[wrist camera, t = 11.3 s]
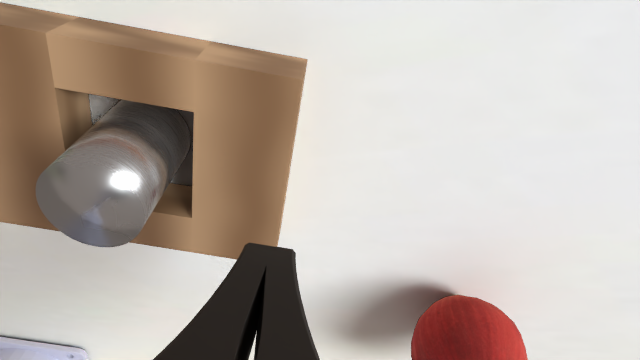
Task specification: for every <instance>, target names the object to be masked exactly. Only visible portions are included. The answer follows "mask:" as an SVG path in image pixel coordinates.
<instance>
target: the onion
mask: <svg viewBox="0 0 640 360" xmlns="http://www.w3.org/2000/svg"><path fill="white" fill-rule="evenodd" d="M411 357H412V360H528V359H527V354H526V349H525V346H524V343H523V340H522V337H521V334H520V332H519V330H518V329H517V327H516V325H515V324H514V322H513V321H512V320H511V319H510V318H509V317H508V316H507V315H505V314H504V313H503V312H502V311H501V310H500V309H498V308H497V307H495V306H494V305H492V304H490V303H488V302H485V301H483V300H481V299H478V298H474V297H467V296H462V295H454V296H447V297H444V298H442V299H440V300H438V301H436V302H434V303H433V304H432V305H431V306H430V307H429V308H428V309H427V310H426V311H425V312H424V314H423V315H422V316H421V317H420V318H419V320H418V322H417V325H416V327H415V329H414V333H413V337H412V341H411Z"/></svg>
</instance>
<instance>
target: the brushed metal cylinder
mask: <svg viewBox="0 0 640 360" xmlns="http://www.w3.org/2000/svg"><path fill="white" fill-rule="evenodd" d="M190 144H191V137H190V132H189V128H188V126H187V124H186V122H185V120H184V119H183V117H182V116H181V115H180V114H179V113H178V112H177V111H176V110H175V109H173V108H168V107H162V106H156V105H151V104H145V103H139V102H134V101H128V100H121V101H119V102H118V103H117V104H116V105H115V106H114V107H112V108H111V109H110V110H109V111H108V112H107V113H106V114H105V115H104V116H103V117H102V118H101V119H99V120H98V121H97V122H96V123H95V124H94V125H93V126H92V127H91V128H90V129H89V130H88V131H86V132H85V133H84V134H83V135H82V136H81V137H80V138H79V139H78V140H77V141H76V142H75V143H73V144H72V145H71V146H70V147H69V148H68V149H67V150H66V151H65V152H64V153H63V154H62V155H60V156H59V157H58V158H57V159H56V160H55V161H54V162H53V163H52V164H51V165H50V166H48V167H47V168H46V169H45V170H44V171H43V172H42V173H41V175H40V176H39V178H38V180H37V183H36V189H35V190H36V198H37V202H38V205H39V207H40V209H41V211H42V212H43V214H44V215H45V217H46V218H47V219H48V220H49V221H50V223H52V224H53V225H54V226H55V227H56V228H57V229H58V230H60V231H61V232H62V233H64V234H65V235H67V236H69V237H71V238H72V239H75V240H77V241H79V242H82V243H85V244H88V245H92V246H98V247H115V246H120V245H123V244H126V243H128V242H130V241H132V240H133V239H134V238H135V237H136V236H137V235H138V234H139V233H140V231H141V229H142V228H143V226H144V225H145V223H146V221H147V220H148V218H149V216H150V215H151V213H152V211H153V210H154V208H155V206H156V205H157V203H158V201H159V200H160V198H161V197H162V195H163V193H164V192H165V190H166V188H167V187H168V185H169V183H170V182H171V180H172V178H173V177H174V175H175V174H176V172H177V170H178V169H179V167H180V165H181V164H182V162H183V160H184V159H185V157H186V155H187V154H188V152H189V149H190Z"/></svg>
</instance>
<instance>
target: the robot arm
mask: <svg viewBox="0 0 640 360" xmlns="http://www.w3.org/2000/svg"><path fill="white" fill-rule="evenodd" d="M295 256H296V253H295V252H294V251H293V249H287V248H281V247H274V246H268V245H262V244H256V243H250V242H249V243H247V244H246V245H245V246H244V248H243V250H242V252H241V254H240V256H239V258H238V259H237V261H236V263H235V264H234V266H233V267H232V269H231V270H230V272H229V273H228V275H227V276H226V278H225V279H224V280H223V282H222V283H221V285H220V286H219V287H218V289H217V290H216V291H215V293H214V294H213V295H212V297H211V298H210V299H209V300H208V302H207V303H206V304H205V305H204V306H203V308H202V309H201V310H200V311H199V312H198V313H197V315H196V316H195V317H194V318H193V319H192V321H191V322H190V323H189V324H188V325H187V326H186V327H185V328H184V329H183V330H182V331H181V332H180V334H179V335H178V336H177V337H176V338H175V339H174V340H173V341H172V342H171V343H170V344H169V345H168V346H167V347H166V348H165V349H164V350H163V351H162V352H161V353H159V354H158V355H157V356H156V357H155V358H154V359H153V360H248V359H249V355H250V352H251V349H252V345H253V342H254V338H255V335H256V345H255V355H254V360H320V359H319V356H318V353H317V351H316V348H315V345H314V342H313V339H312V336H311V333H310V330H309V327H308V323H307V320H306V316H305V312H304V308H303V304H302V300H301V296H300V291H299V286H298V280H297V273H296V261H295ZM256 331H257V334H256ZM0 360H88V357H87V353H86V351H85V350H83V349H80V348H75V347H68V346H61V345H54V344H47V343H40V342H33V341H26V340H19V339H12V338H5V337H0Z"/></svg>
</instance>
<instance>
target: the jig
mask: <svg viewBox="0 0 640 360" xmlns="http://www.w3.org/2000/svg"><path fill="white" fill-rule="evenodd" d="M306 66H307V59H302V58H297V57H292V56H286V55H281V54H275V53H270V52H265V51H259V50H254V49H248V48H243V47H238V46H232V45H227V44H221V43H216V42H211V41H205V40H200V39H194V38H189V37H184V36H178V35H173V34H167V33H162V32H157V31H151V30H146V29H141V28H135V27H130V26H124V25H119V24H114V23H108V22H103V21H97V20H92V19H87V18H81V17H76V16H70V15H65V14H60V13H54V12H49V11H43V10H38V9H33V8H27V7H22V6H16V5H11V4H6V3H0V222H5V223H11V224H17V225H24V226H30V227H36V228H43V229H49V230H55V231H60V230H58V229H57V228H56V227H55V226H54V225H53V224H52V223H50V221H49V220H48V219H47V218H46V217H45V215H44V214H43V212H42V211H41V209H40V207H39V205H38V202H37V198H36V190H35V189H36V183H37V180H38V178H39V176H40V175H41V173H42V172H43V171H44V170H45V169H46V168H47V167H48V166H50V165H51V164H52V163H53V162H54V161H55V160H56V159H57V158H58V157H59V156H60V155H62V154H63V153H64V152H65V151H66V150H67V149H68V148H69V147H70V146H71V145H72V144H73V143H75V142H76V141H77V140H78V139H79V138H80V137H81V136H82V135H83V134H84V133H85V132H86V131H88V130H89V129H90V128H91V127H92V120H91V112H90V104H89V96H88V94H94V95H99V96H105V97H111V98H117V99H122V100H128V101H134V102H139V103H145V104H151V105H156V106H162V107H168V108H173V109H179V110H185V111H190V112H194V127H193V183H192V187H191V186H185V185H179V184H173V183H169V185H168V187H167V188H166V190H165V192H164V193H163V195H162V197H161V198H160V200H159V201H158V203H157V205H156V206H155V208H154V210H153V211H152V213H151V215H150V216H149V218H148V220H147V221H146V223H145V225H144V226H143V228H142V229H141V231H140V233H139V234H138V235H137V236H136V237H135V238H134V239H133V240H132V241H130V242H131V243H137V244H144V245H150V246H156V247H162V248H169V249H175V250H181V251H188V252H194V253H200V254H207V255H213V256H219V257H226V258H232V259H238V258H239V256H240V254H241V252H242V250H243V248H244V246H245V245H246V244H247V243H249V242H250V243H256V244H262V245H268V246H274V247H277V245H278V240H279V234H280V228H281V222H282V216H283V209H284V203H285V197H286V191H287V184H288V178H289V172H290V166H291V159H292V153H293V147H294V141H295V134H296V128H297V122H298V116H299V109H300V103H301V97H302V91H303V84H304V78H305V72H306Z"/></svg>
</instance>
